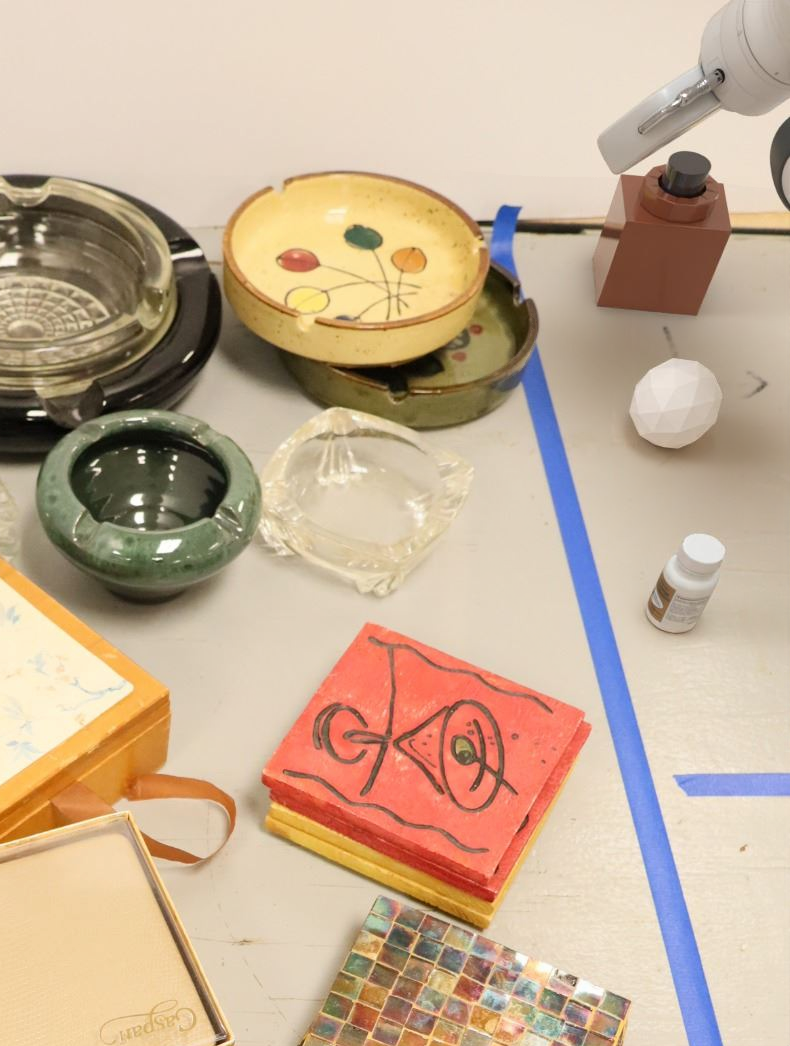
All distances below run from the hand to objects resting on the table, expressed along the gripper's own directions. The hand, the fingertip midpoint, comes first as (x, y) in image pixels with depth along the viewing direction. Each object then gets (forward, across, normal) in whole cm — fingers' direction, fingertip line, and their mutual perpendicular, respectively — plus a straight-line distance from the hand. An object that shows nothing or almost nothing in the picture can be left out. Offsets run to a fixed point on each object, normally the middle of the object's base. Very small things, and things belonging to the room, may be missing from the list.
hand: (641, 139), depth 126 cm
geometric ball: (+6, -8, -24) cm, 26 cm away
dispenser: (+16, +8, -11) cm, 21 cm away
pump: (+8, +9, -5) cm, 13 cm away
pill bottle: (-4, -26, -35) cm, 43 cm away
